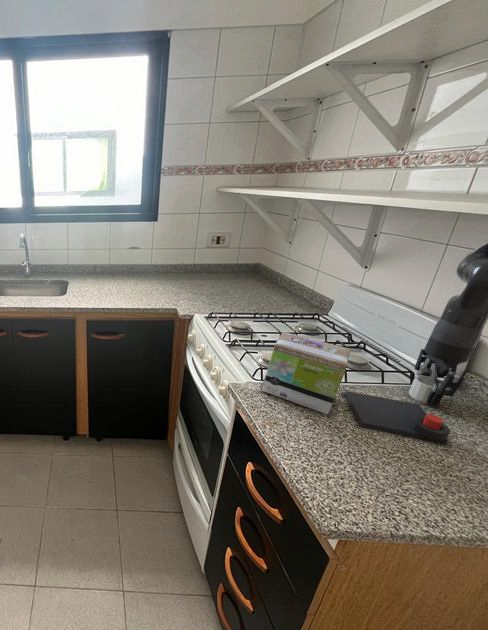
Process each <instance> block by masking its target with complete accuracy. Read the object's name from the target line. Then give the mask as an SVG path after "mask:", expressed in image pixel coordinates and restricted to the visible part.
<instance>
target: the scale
mask: <svg viewBox="0 0 488 630" xmlns="http://www.w3.org/2000/svg"><path fill="white" fill-rule="evenodd" d="M343 395H344V397H345V399H346V401H347V403H348V404H349V406H350V408H351V411H352V412H353V414H354V416H355V418H356V420H357V422H358V424H359V425H360V427H361V428H367V429H372V430H377V431H381V432H386V433H390V434H396V435H400V436H405V437H410V438H415V439H418V440H419V439H420V440H424V441H429V442H434V443H439V444H443V445H446V444H447V442H448V436H449V435H450V432H451V429H450V428H449V427H448V425H446V424H445V423H443V424H442V426H441V428H440V430H435V429H432V428H429V427H427V426H425V425H424V424H423V423H422V422H423V420H424V418H425V416H426V415H427V412H426V411H425V410H424V409H423V408H422V406H421V405H420V403H414V402H409V401H402V400H397V399H392V398H386V397H381V396H376V395H375V396H374V395H371V394H364V393H359V392H354V391H349V390H345V391H344V393H343Z"/></svg>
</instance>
